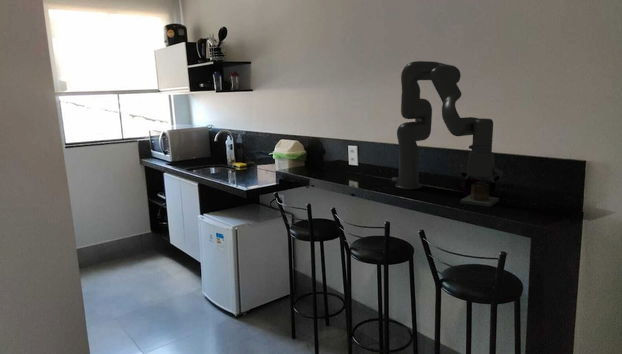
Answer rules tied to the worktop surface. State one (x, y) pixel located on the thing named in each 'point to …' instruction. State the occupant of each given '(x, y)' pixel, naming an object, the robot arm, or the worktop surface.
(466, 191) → the mug
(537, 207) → the worktop surface
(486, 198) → the collar
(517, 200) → the worktop surface
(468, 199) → the post block
